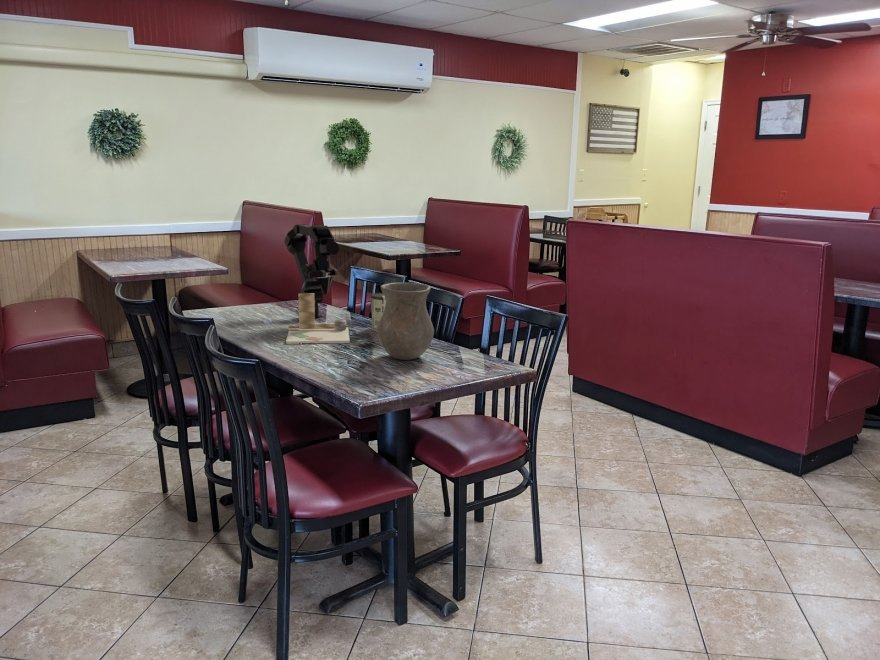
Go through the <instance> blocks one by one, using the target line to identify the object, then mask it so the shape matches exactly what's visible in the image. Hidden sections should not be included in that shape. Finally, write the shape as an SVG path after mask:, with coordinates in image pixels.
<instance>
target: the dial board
mask: <svg viewBox="0 0 880 660" xmlns="http://www.w3.org/2000/svg"><path fill="white" fill-rule="evenodd" d="M349 330H350V329H349V327H347V326H346V329H344V330H338V329H299V328H289V327H288V333H287V337H286V340H285V342H286V343H285V344H286V345H303V344H302V343H328V344H350V343H351V342H350V340H351V339H350V331H349ZM299 343H300V344H299Z"/></svg>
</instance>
